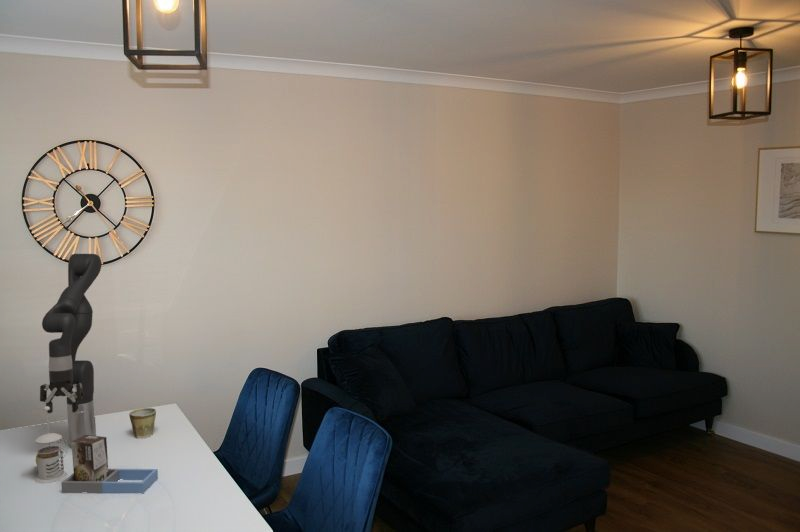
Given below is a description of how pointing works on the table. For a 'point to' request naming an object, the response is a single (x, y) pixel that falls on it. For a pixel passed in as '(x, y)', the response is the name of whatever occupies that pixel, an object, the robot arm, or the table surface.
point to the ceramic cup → (143, 422)
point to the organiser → (114, 482)
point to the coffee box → (90, 458)
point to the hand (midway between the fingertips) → (62, 412)
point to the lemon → (42, 457)
